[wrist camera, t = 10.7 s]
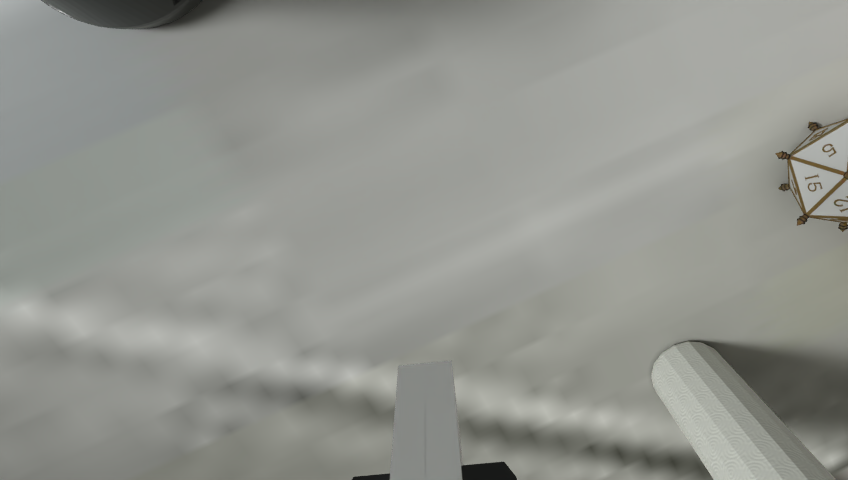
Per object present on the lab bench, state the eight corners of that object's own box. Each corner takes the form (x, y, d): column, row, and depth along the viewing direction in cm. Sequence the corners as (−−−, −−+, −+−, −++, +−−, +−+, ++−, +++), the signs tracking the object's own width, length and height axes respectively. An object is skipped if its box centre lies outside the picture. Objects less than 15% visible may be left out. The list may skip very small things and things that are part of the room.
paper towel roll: (667, 331, 47) (846, 549, 27) (733, 349, 48) (956, 574, 28) (633, 401, 50) (775, 650, 30) (696, 417, 50) (878, 671, 30)
